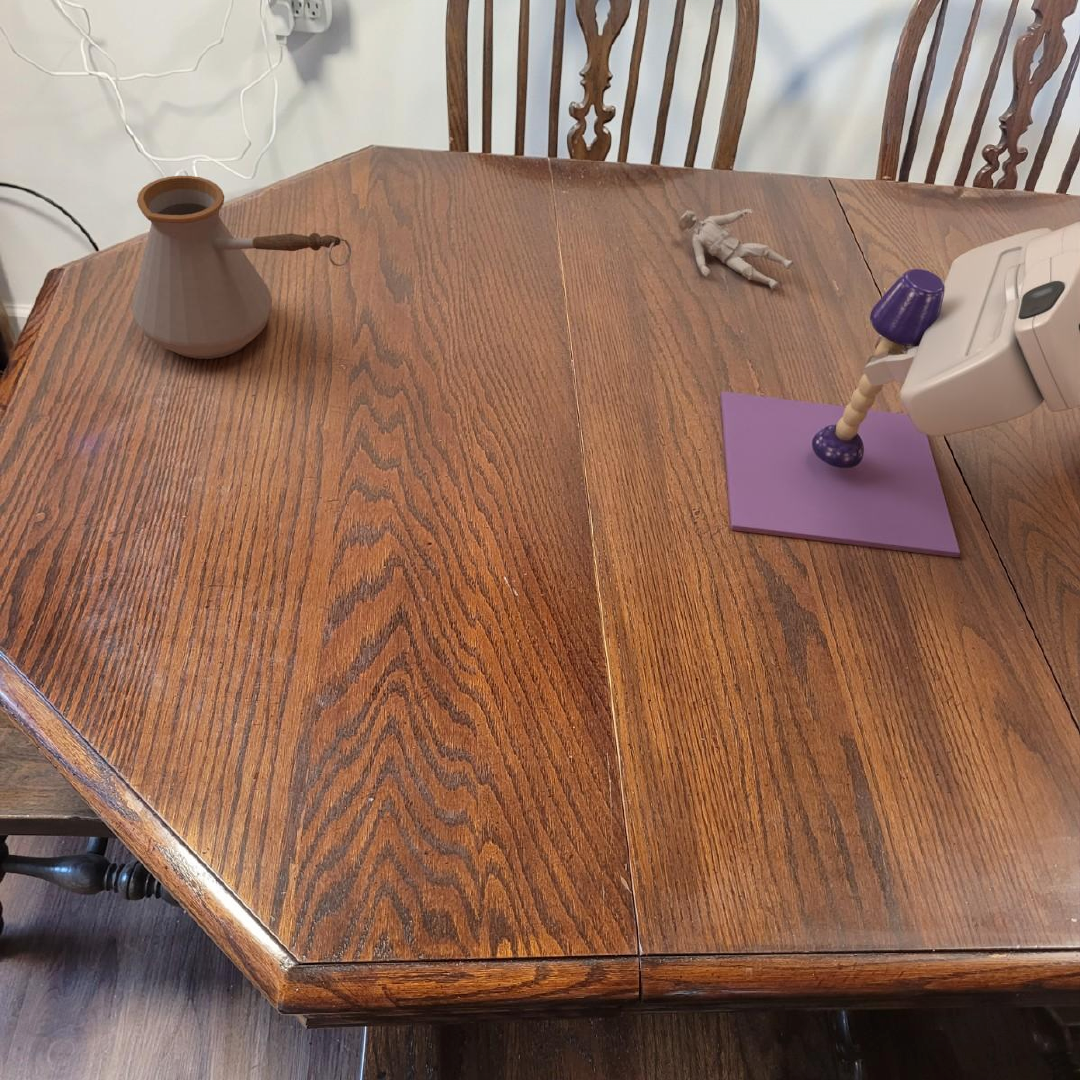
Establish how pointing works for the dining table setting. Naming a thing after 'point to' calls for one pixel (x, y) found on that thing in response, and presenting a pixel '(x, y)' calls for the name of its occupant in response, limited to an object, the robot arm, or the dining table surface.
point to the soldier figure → (728, 245)
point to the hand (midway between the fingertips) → (874, 360)
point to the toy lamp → (900, 325)
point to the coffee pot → (203, 271)
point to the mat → (832, 478)
